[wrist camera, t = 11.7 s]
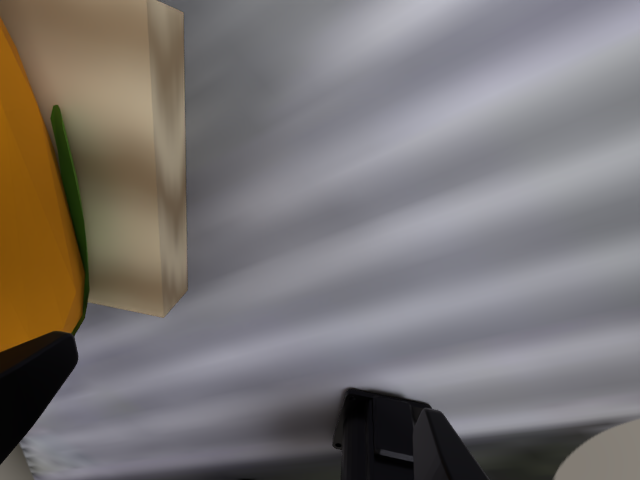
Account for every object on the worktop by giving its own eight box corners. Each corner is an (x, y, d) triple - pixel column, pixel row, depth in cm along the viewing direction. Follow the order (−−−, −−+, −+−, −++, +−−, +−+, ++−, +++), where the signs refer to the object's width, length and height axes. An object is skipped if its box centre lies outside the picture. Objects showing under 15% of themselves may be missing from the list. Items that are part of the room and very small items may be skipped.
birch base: (187, 290, 22) (163, 317, 20) (20, 256, 23) (-26, 278, 20) (183, 12, 15) (146, -5, 13) (-56, -30, 16) (-142, -55, 13)
